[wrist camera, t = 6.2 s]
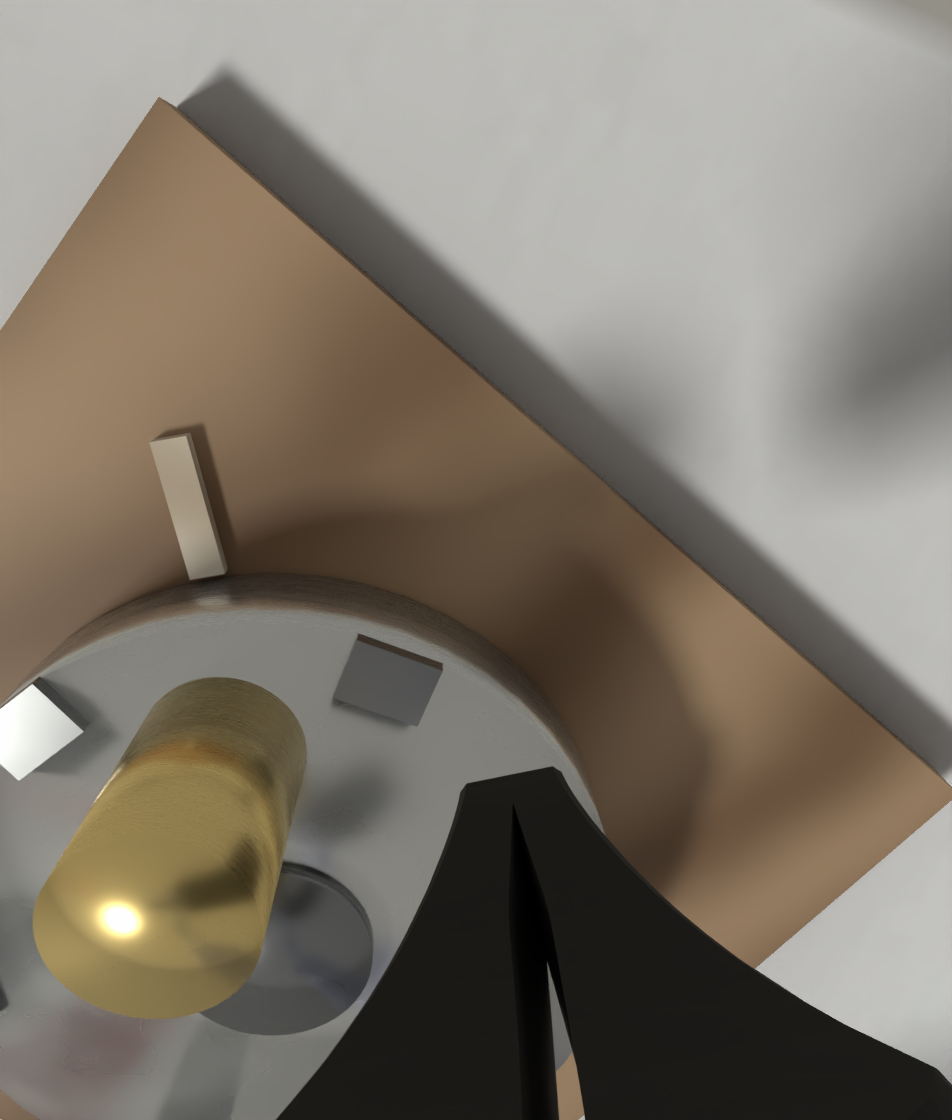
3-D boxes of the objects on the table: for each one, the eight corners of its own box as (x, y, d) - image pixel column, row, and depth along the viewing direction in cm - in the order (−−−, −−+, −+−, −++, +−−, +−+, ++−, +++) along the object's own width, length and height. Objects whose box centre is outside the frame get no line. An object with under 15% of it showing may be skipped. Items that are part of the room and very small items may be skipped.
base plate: (935, 769, 21) (966, 801, 20) (372, 1260, 26) (369, 1309, 25) (175, 107, 15) (153, 94, 14) (-363, 892, 20) (-415, 933, 19)
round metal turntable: (569, 529, 17) (657, 698, 11) (616, 1046, 22) (696, 1383, 15) (-125, 622, 17) (-468, 851, 11) (72, 1121, 22) (-81, 1494, 15)
